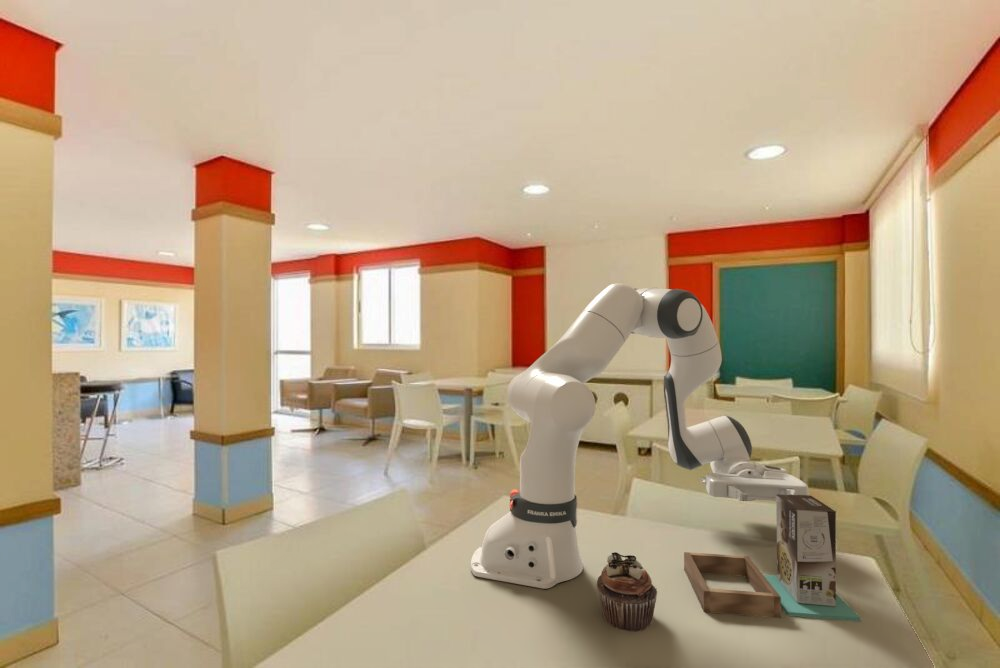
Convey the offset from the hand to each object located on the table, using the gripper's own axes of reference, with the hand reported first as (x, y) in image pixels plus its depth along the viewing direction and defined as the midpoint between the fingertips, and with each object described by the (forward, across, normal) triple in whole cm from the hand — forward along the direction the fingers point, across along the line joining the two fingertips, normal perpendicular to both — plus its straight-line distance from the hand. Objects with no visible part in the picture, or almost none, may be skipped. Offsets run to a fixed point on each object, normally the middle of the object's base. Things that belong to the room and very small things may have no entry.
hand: (768, 498), depth 100 cm
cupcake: (+24, -30, +14) cm, 41 cm away
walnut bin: (+13, -12, +13) cm, 22 cm away
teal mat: (+13, +1, +13) cm, 19 cm away
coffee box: (+12, +2, +13) cm, 18 cm away
